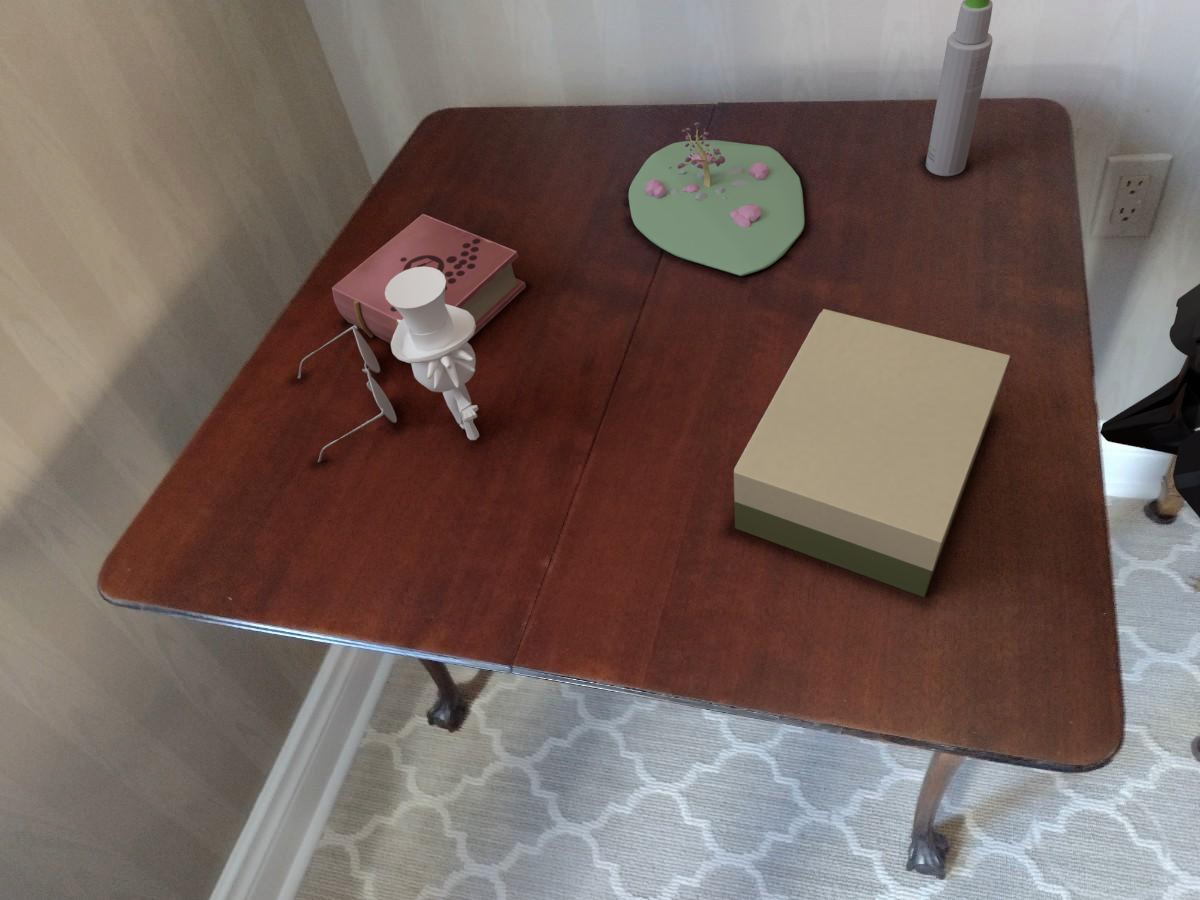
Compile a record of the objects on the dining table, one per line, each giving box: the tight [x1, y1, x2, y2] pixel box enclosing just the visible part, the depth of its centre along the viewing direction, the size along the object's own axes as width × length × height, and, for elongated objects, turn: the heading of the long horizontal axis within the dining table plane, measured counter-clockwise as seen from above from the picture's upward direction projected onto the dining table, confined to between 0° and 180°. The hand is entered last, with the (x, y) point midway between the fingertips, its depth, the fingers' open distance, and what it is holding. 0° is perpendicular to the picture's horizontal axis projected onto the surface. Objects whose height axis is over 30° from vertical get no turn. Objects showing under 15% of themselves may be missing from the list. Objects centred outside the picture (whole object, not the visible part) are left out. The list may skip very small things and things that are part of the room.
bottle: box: [925, 0, 994, 177], centre depth 95 cm, size 4×4×20 cm
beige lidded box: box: [733, 308, 1011, 598], centre depth 74 cm, size 16×20×8 cm
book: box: [331, 213, 527, 344], centre depth 97 cm, size 14×15×5 cm
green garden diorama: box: [628, 121, 805, 277], centre depth 100 cm, size 25×21×9 cm
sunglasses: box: [297, 325, 398, 463], centre depth 90 cm, size 14×8×5 cm, turn 22°
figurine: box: [385, 267, 480, 441], centre depth 80 cm, size 10×8×18 cm
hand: (1104, 432), depth 62 cm, fingers closed
